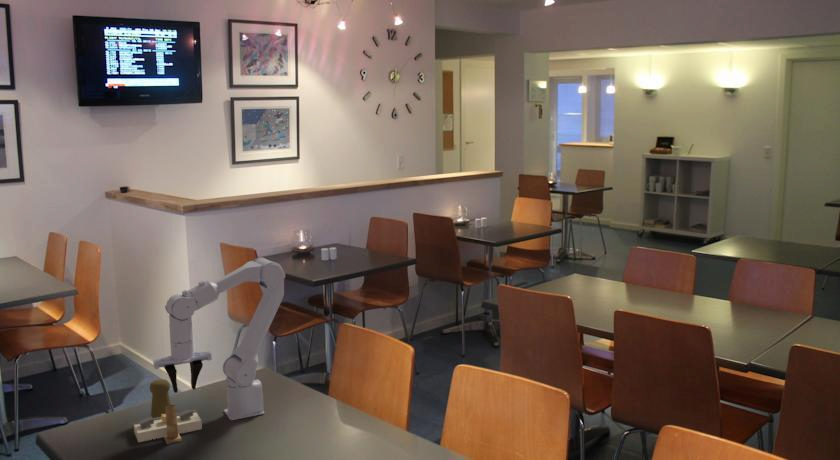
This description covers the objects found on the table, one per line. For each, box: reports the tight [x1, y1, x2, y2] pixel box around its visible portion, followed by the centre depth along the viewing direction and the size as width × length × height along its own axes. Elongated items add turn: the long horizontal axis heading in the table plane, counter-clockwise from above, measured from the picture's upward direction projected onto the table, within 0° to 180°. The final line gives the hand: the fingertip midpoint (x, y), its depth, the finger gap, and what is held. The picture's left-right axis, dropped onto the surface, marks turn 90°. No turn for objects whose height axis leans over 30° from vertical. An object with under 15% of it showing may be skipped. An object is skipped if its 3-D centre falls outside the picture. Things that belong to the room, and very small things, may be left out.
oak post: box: [163, 404, 182, 445], centre depth 188 cm, size 4×4×9 cm
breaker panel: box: [133, 409, 203, 443], centre depth 194 cm, size 16×7×3 cm, turn 119°
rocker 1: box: [138, 415, 154, 428], centre depth 191 cm, size 3×2×1 cm
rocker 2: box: [161, 414, 166, 422], centre depth 194 cm, size 3×2×1 cm
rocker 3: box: [178, 408, 193, 420], centre depth 196 cm, size 3×2×1 cm
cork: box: [149, 378, 172, 418], centre depth 201 cm, size 6×6×11 cm
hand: (184, 389), depth 195 cm, fingers open, 4 cm apart
